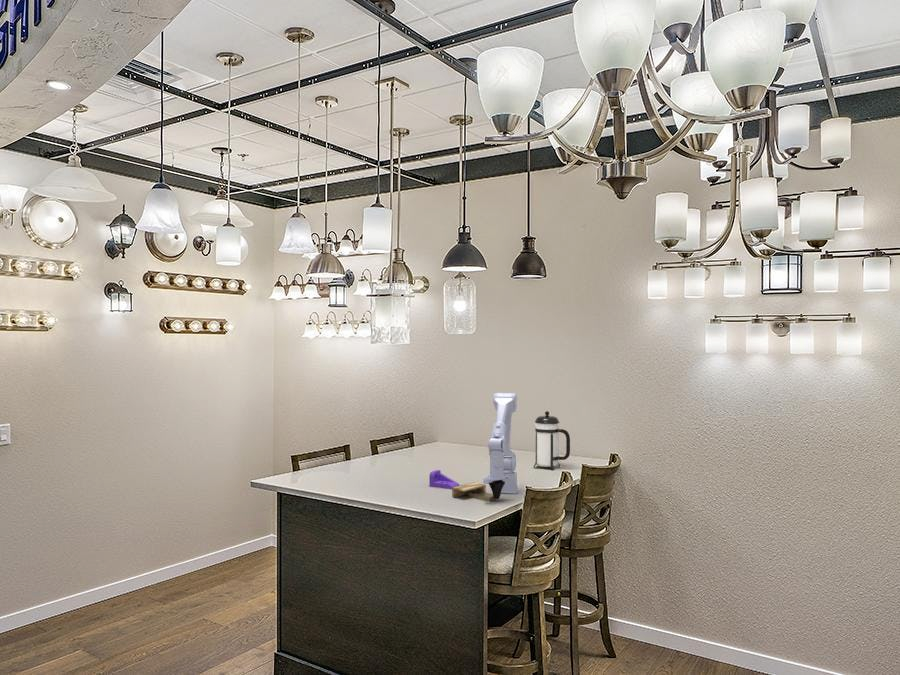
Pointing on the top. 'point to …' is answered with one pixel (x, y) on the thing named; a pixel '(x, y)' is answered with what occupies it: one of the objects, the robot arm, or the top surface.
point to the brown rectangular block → (467, 489)
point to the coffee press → (549, 441)
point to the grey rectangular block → (482, 496)
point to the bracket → (441, 480)
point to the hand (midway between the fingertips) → (496, 498)
